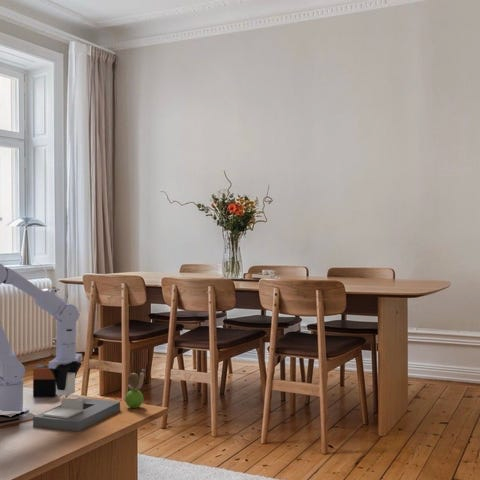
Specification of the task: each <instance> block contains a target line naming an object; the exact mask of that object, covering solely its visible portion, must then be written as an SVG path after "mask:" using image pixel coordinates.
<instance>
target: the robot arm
mask: <svg viewBox="0 0 480 480" xmlns="http://www.w3.org/2000/svg"><path fill="white" fill-rule="evenodd" d="M2 284H4V285H12V286H13V287H15V288H17V289H18V290H20V291H21V292H24V293H25V294H27V295H29V296H30V297H31V298H33V299H34V304H35V305H36V306H37V307H39V308H40V309H42V310H43V311H44V312H46V313H48V314H49V315H51V316H54V318H55V320H56V343H55V345H56V347H55V349H56V351H55V357H54V358H53V359H52V360H50V361H48V364H49V368H50V370H51V372H52V373H53V375H54V378H55V381H56V385H57V389H58V390H65V386H66V377H67V373H68V372H71V373H75V379H76V378H77V375H78V372H79V370H80V368H81V366H82V362H80V361H82V360H83V353H77V321H78V320H79V319H80V313H79V310H78V308H77V306H76V305H74V304H71V303H68V301H69V300H68V299H67V298H65V297H64V298H62V297H61V296H59V295H58V294H56V291H55V290H54V289H53V288H50V289H49V288H42V289H41V288H40V287H38V286H37V285H35V284H34V283H32V282H31V281H29V280H28V279H27V278H25V277H24V276H23V275H21V274H20V273H19V272H17V271H15V270H13V269H12V268H10V267H7V266H5V265H3V264H2V263H0V285H2ZM25 376H26V368H25V366H24V364H23V363H21V362H20V360H19V359H18V358H17V356H16V353H15V352H14V351H13V349H12V347H11V345H10V343H9V340H8V337H7V335H6V333H5V330H4V328H3V325H2V323H1V322H0V410H2V411H25V412H24V413H27V412H29V411H30V408H25V407H24V405H23V404H24V379H23V378H24V377H25Z"/></svg>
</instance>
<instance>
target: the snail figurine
mask: <svg viewBox="0 0 480 480" xmlns="http://www.w3.org/2000/svg"><path fill="white" fill-rule="evenodd" d="M141 371H142V372H140V373H139V375H138V373H136V372H132V373H130V374H129V375H128V378H127V382H128V385H127V387H128V388H129V390H128V391H127V393H126V395H125V398H124V402H125V405H127V407H129V408H131V409H137V408H139V407H140V406H142V404H143V403H144V394H143V393H142V392H141V391H140V389H141V388H142V386H143V385H144V378H145V371H146V369H145V368H141Z"/></svg>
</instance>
